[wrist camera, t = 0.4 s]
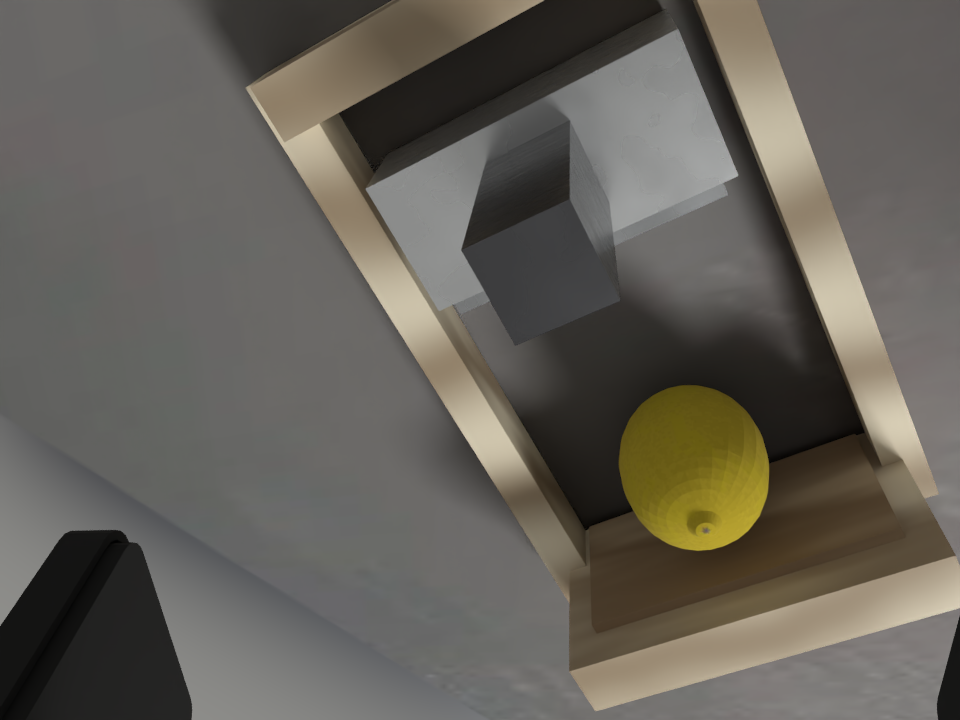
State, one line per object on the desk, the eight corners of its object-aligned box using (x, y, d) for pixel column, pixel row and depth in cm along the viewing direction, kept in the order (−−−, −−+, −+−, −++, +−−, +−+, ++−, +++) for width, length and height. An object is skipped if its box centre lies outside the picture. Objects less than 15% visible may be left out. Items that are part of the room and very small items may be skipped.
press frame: (920, 462, 38) (998, 597, 31) (576, 577, 43) (577, 716, 36) (684, -170, 28) (721, -178, 21) (266, 72, 33) (184, 131, 26)
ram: (726, 156, 32) (796, 289, 22) (459, 279, 36) (415, 443, 26) (665, 8, 30) (712, 84, 20) (386, 154, 34) (308, 281, 24)
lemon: (777, 401, 37) (824, 525, 31) (684, 483, 40) (708, 615, 33) (677, 325, 36) (702, 437, 29) (587, 415, 39) (591, 538, 32)
